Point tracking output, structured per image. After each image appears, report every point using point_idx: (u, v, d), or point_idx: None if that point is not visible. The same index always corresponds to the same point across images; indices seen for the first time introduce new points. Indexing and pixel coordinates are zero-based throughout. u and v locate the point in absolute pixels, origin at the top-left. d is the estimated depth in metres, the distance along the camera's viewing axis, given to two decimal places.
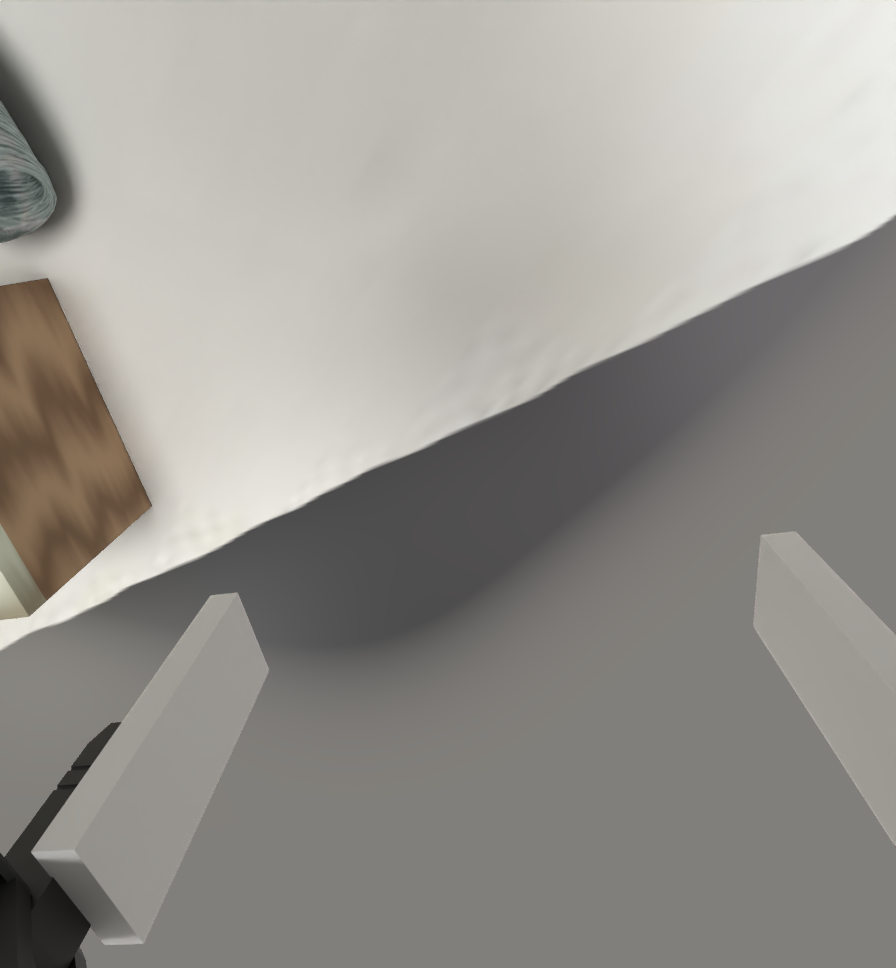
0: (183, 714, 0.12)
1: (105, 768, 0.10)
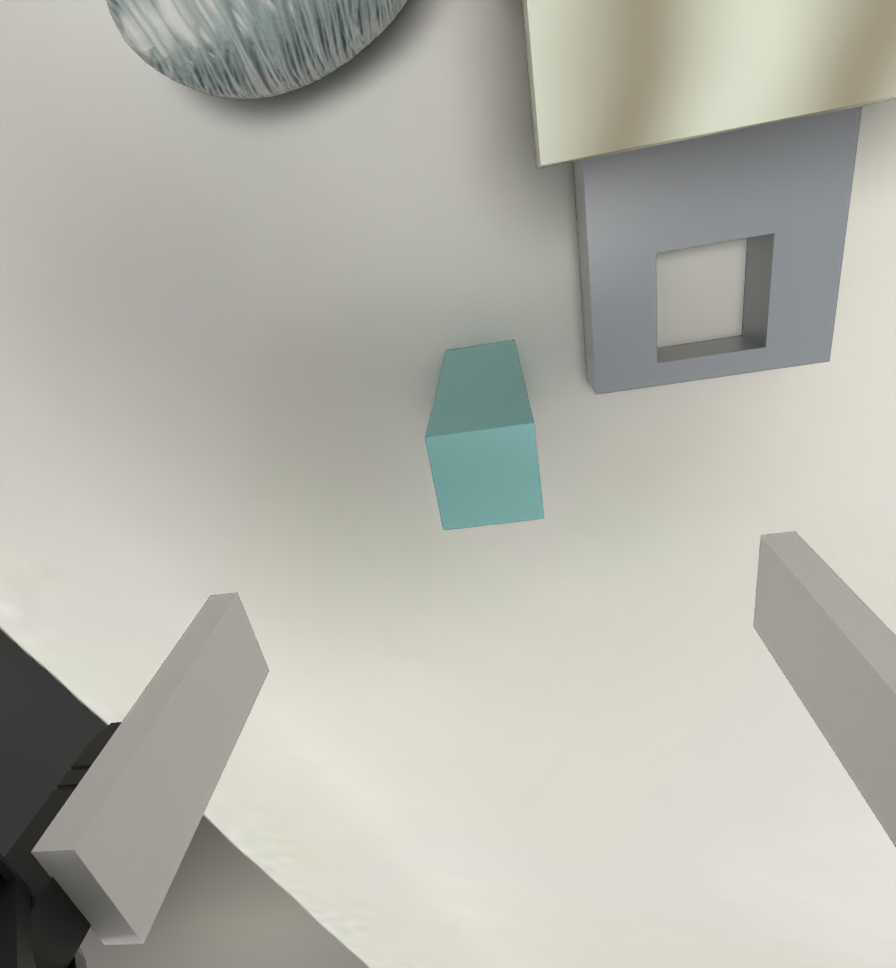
0: (183, 714, 0.12)
1: (105, 768, 0.10)
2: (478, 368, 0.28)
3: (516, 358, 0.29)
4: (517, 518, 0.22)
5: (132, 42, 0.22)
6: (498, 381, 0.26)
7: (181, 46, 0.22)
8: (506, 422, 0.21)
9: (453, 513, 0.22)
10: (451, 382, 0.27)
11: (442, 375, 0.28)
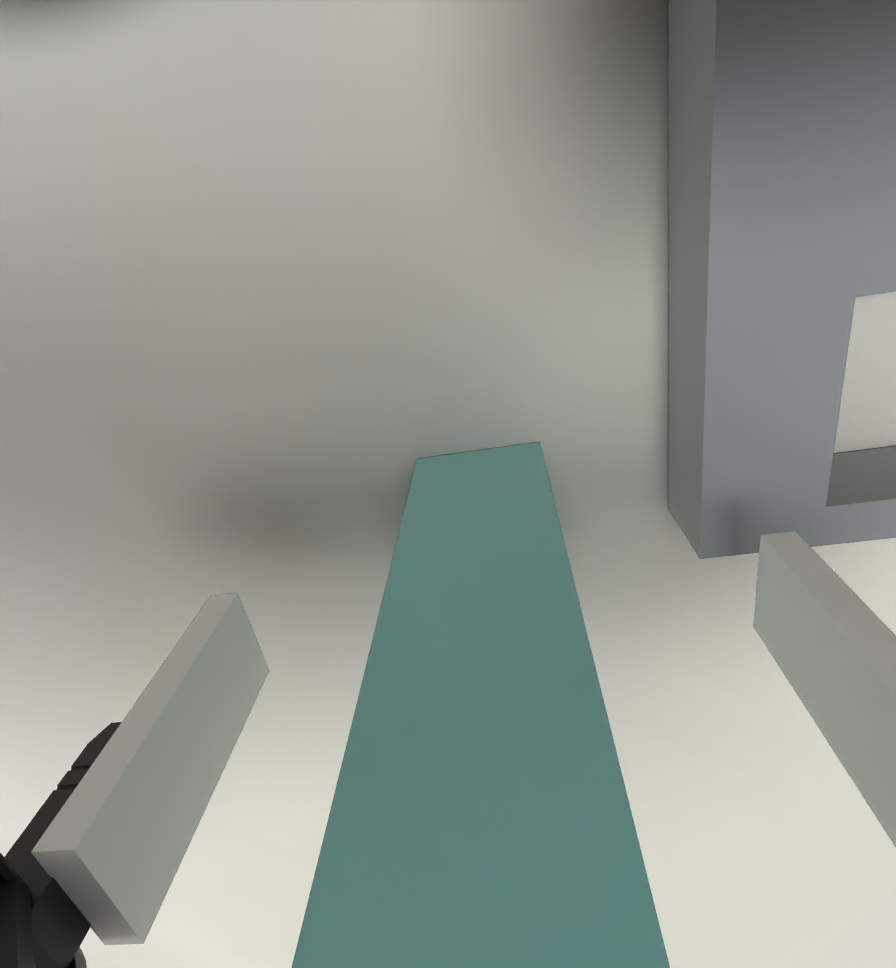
0: (183, 714, 0.12)
1: (105, 768, 0.10)
2: (473, 536, 0.14)
3: (551, 509, 0.14)
4: None
5: None
6: (520, 606, 0.11)
7: None
8: (565, 933, 0.06)
9: None
10: (413, 590, 0.12)
11: (398, 552, 0.13)
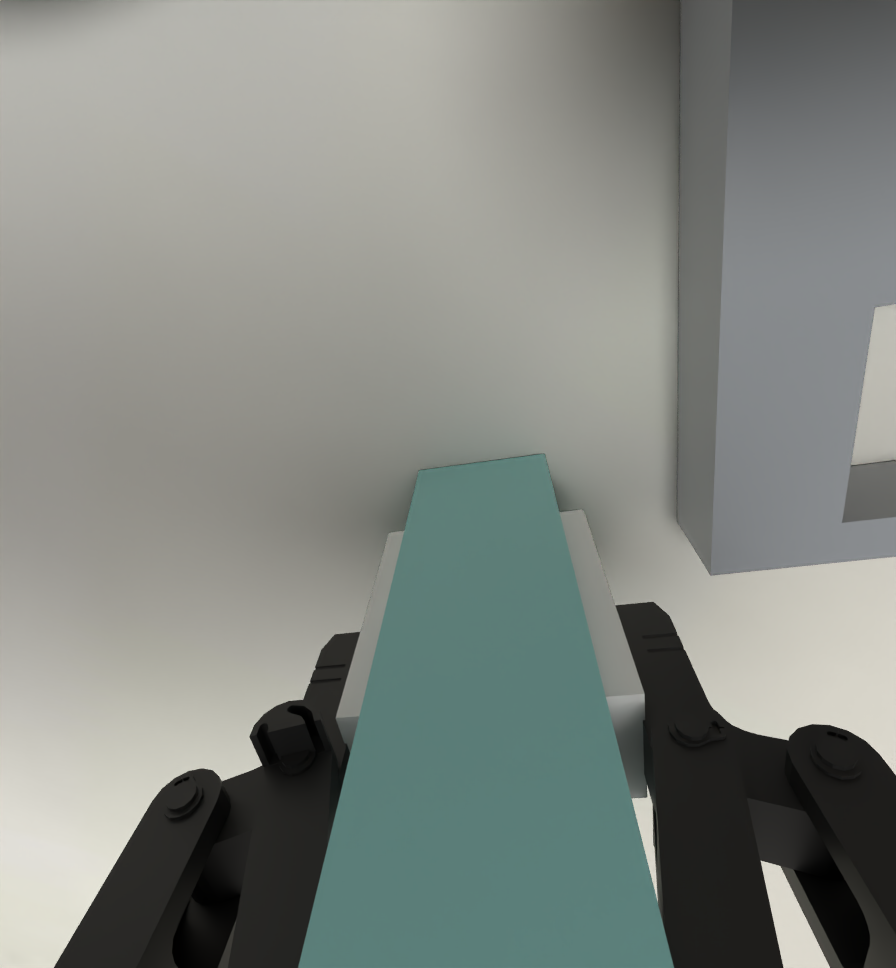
0: None
1: (368, 659, 0.11)
2: (477, 554, 0.13)
3: (558, 526, 0.14)
4: None
5: None
6: (526, 631, 0.10)
7: None
8: None
9: None
10: (415, 612, 0.12)
11: (399, 570, 0.13)
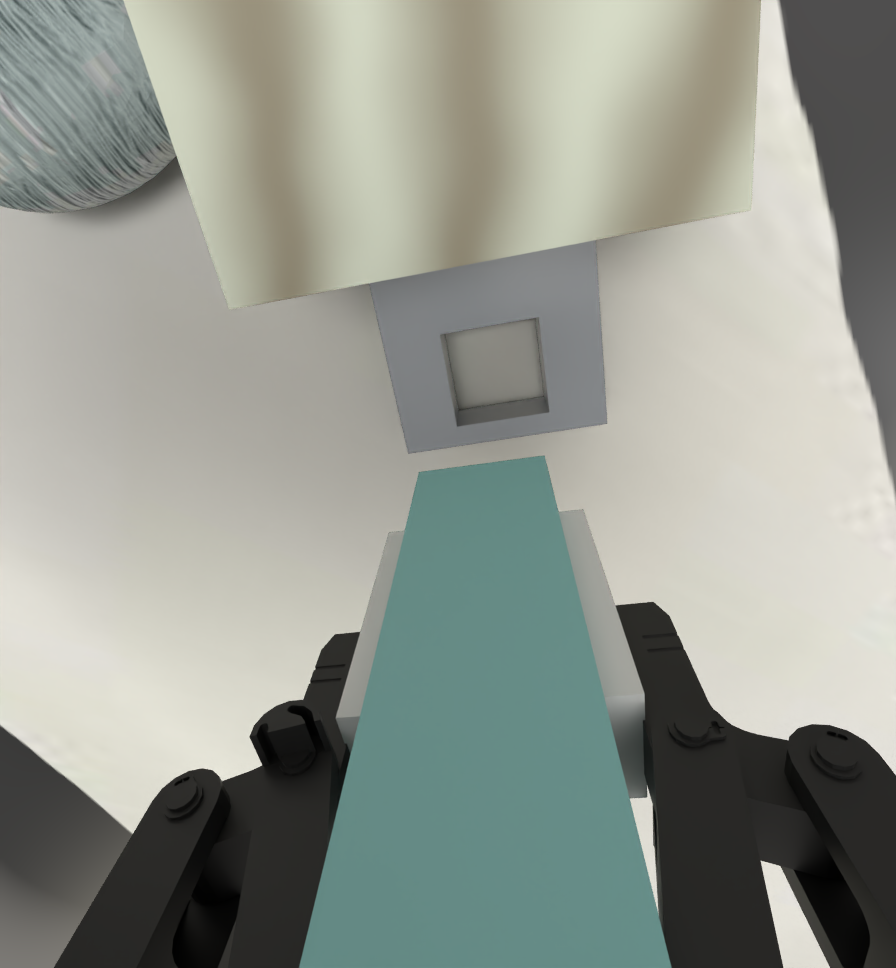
0: None
1: (368, 659, 0.11)
2: (477, 556, 0.13)
3: (558, 528, 0.14)
4: None
5: None
6: (525, 633, 0.10)
7: None
8: None
9: None
10: (414, 615, 0.12)
11: (399, 572, 0.13)
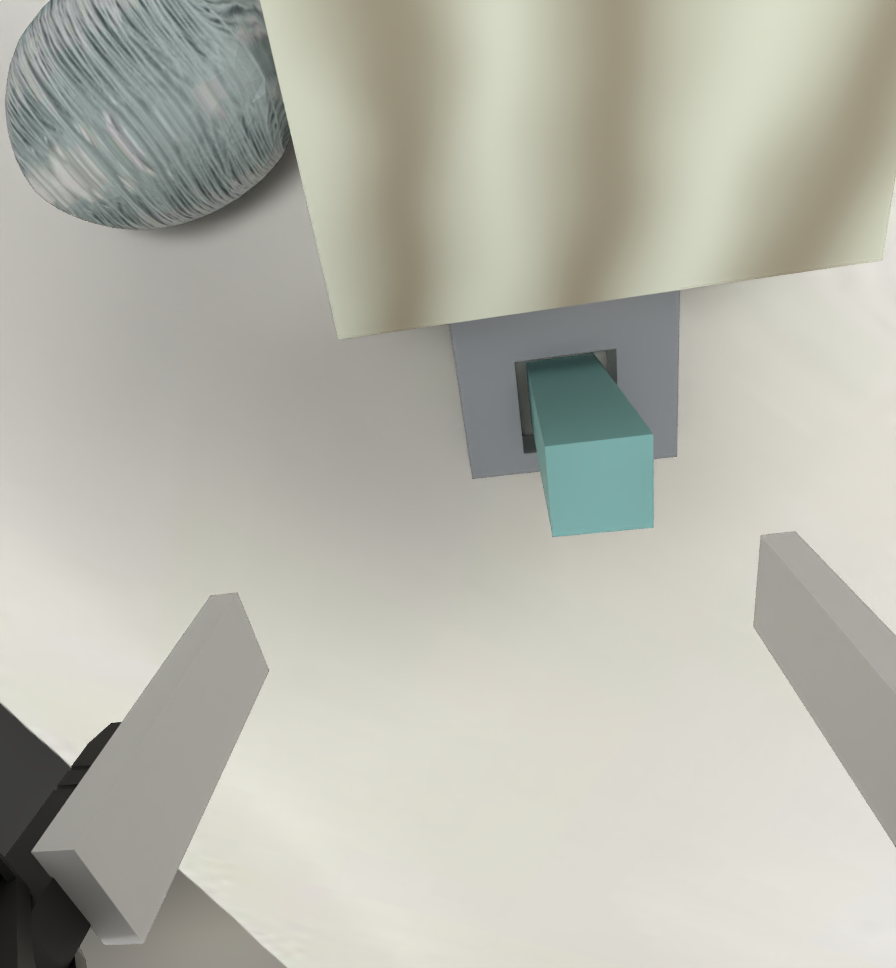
0: (183, 714, 0.12)
1: (105, 768, 0.10)
2: (568, 380, 0.29)
3: (604, 371, 0.30)
4: (627, 526, 0.23)
5: (39, 194, 0.26)
6: (596, 393, 0.26)
7: (79, 201, 0.26)
8: (623, 432, 0.21)
9: (564, 520, 0.23)
10: (547, 393, 0.27)
11: (533, 386, 0.29)
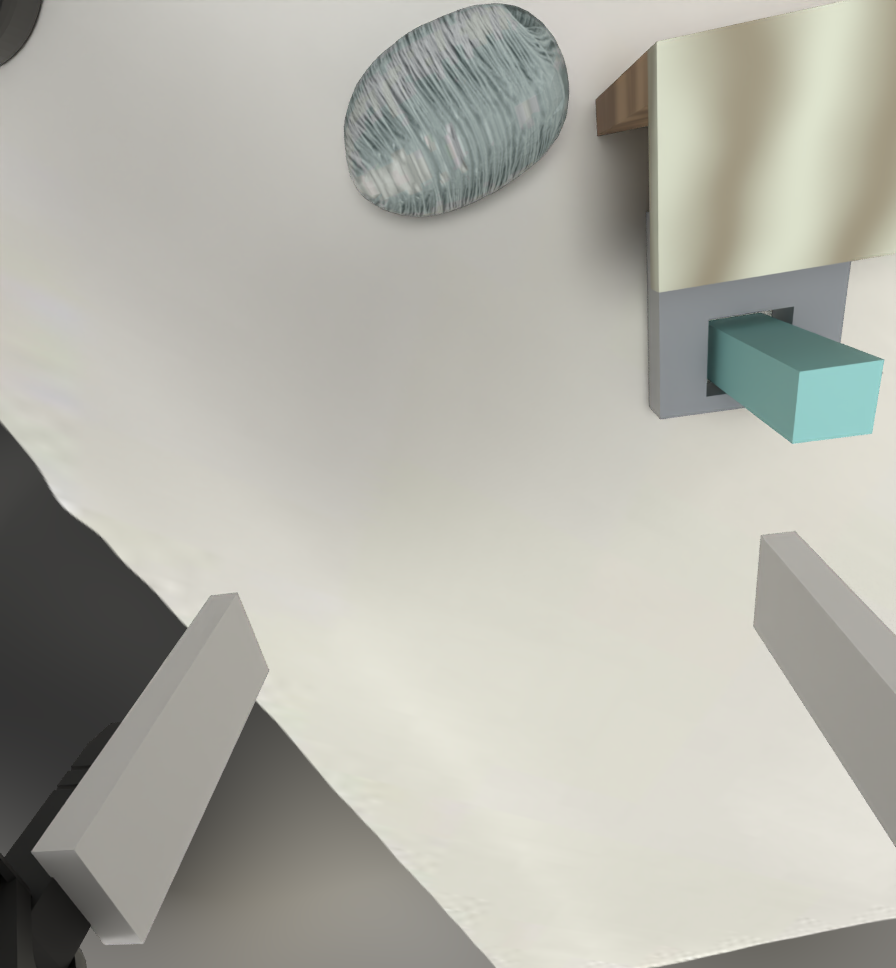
0: (183, 714, 0.12)
1: (105, 768, 0.10)
2: (763, 331, 0.36)
3: (789, 324, 0.37)
4: (851, 433, 0.30)
5: (364, 189, 0.33)
6: (800, 338, 0.34)
7: (399, 193, 0.33)
8: (857, 360, 0.29)
9: (804, 430, 0.30)
10: (755, 341, 0.35)
11: (735, 337, 0.36)
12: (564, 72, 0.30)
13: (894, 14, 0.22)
